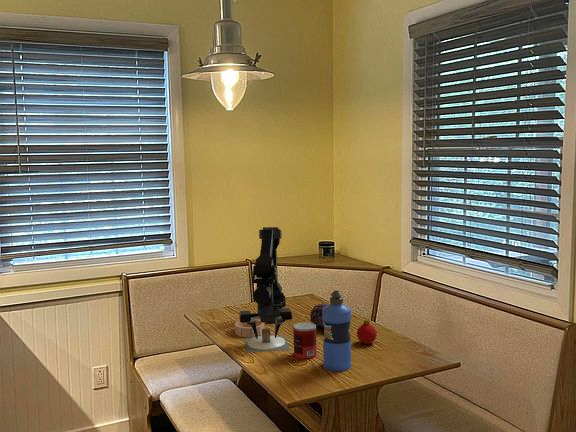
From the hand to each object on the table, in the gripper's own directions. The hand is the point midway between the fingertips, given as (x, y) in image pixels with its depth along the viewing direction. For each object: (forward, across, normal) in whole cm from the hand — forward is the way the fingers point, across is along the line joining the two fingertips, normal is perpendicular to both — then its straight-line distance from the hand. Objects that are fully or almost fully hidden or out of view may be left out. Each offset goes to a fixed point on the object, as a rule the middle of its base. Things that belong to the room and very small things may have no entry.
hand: (266, 338), depth 214 cm
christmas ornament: (+3, +36, -5) cm, 36 cm away
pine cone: (+3, +24, +14) cm, 28 cm away
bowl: (+2, -5, +14) cm, 15 cm away
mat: (+2, 0, 0) cm, 2 cm away
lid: (+2, 0, 0) cm, 2 cm away
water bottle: (+3, +21, -24) cm, 32 cm away
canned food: (+3, +12, -14) cm, 19 cm away
